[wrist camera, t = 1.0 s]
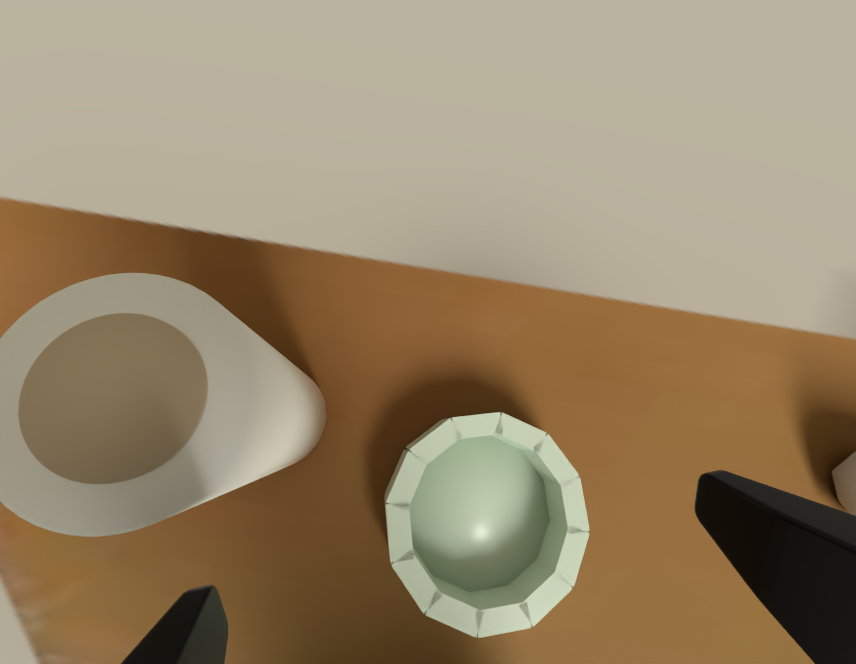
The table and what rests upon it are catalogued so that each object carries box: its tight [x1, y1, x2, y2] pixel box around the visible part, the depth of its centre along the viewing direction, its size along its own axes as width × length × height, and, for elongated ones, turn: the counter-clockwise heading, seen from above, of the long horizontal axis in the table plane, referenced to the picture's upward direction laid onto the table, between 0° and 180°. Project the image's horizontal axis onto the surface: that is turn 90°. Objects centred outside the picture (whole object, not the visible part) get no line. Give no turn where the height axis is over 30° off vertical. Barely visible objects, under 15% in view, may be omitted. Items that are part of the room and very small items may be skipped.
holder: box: [384, 412, 590, 638], centre depth 20 cm, size 9×9×2 cm
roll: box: [0, 273, 326, 537], centre depth 14 cm, size 5×5×13 cm
